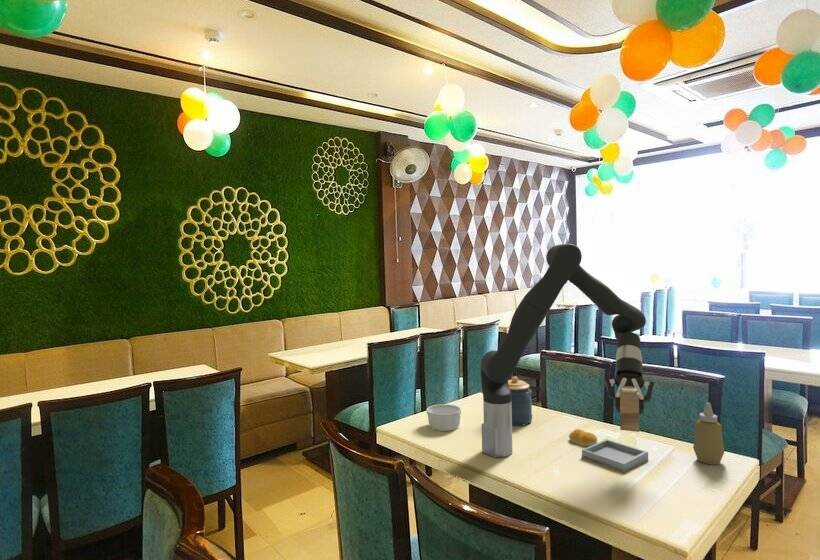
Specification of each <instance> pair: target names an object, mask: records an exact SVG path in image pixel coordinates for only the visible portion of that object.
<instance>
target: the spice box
mask: <svg viewBox="0 0 820 560" xmlns="http://www.w3.org/2000/svg"><path fill="white" fill-rule="evenodd" d="M619 413H620V414H619V421H620V423H619V425H620V426H619V429H620V431H629V432H638V433H640V414H639V391H637V387H631V386H622V390H621V389H620V412H619Z"/></svg>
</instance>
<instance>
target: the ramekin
mask: <svg viewBox="0 0 820 560" xmlns="http://www.w3.org/2000/svg"><path fill="white" fill-rule="evenodd" d="M461 414H462V408H461V407H460V406H458V405H455V404H449V403H445V404H444V403H441V404H434V405H431V406H428V407H427V408H426V415H427V419H428V425H429V427H430V428H431V429H432V430H433V429H434V430H433V431H436V430H439V431H438V432H450V431H449V430H452V431H454V430H453V429H455V430H456V428H457V429H458V427H460V424H461V423H460V422H461Z"/></svg>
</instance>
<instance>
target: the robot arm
mask: <svg viewBox="0 0 820 560" xmlns="http://www.w3.org/2000/svg"><path fill="white" fill-rule="evenodd" d="M582 258H583V257H582V251H581V249H580V247H578V246H577V245H576V244H572V243H561V244H556V245H554V246H553V245H552V247H550V248H549V249H548V250H547V252H546V256H545V259H546V262H547V265H548V268H547V269H546V272H545V273H544V275H543V276H542V277H541V278H540V280H539V281H538V282H537V283H536V284H535V285H534V286H532V287H531V288H530V290H529V291H528V292H527V293H526V294H525V295H524V297H523V298H522V299H521V300H520V303H519V304H518V305H517V307H516V309H515V311H514V313H513V315H512V317H511V321H510V324H509V327H508V330H507V333H506V336H505V339H504V340H503V342H502V343H501V345H500V346H499V347H498V349H497V350H490V351H489V350H488V351H487V352H486V353H485V354H484V355H483V356H482V358H481V361H480V383H481V385H480V386H481V392H482V397H483V398H482V400H483V401H482V403H483V405H482V406H483V423H481V453H482V454H483V453H484V454H486V455H488V456H489V457H490V456H491V457H493V458H495V459H497V458H502V457H503V458H505V457H508V456H511V455H512V454H513V425H512V397H511V391H510V388H509V384H508V380H510V378H512V377H513V376H512V375H513V374H514V372H515V370H516V368H517V366H518V364H519V362H520V360H521V357H522V356H523V354H524V352H525V350H526V348H527V346H528V345H529V344H530V342H531V341H532V339H533V337H534V336H535V334H536V332H537V331H538V329H539V328H540V326H541V325H542V323H543V322H544V320H545V318H546V317H547V315H548V314H549V311H550V309H551V308H552V306H553V305H554V303H555V301H556V300H557V298H558V296H559V294H560V293H561V291H562V290H563V288H564V286H565V285H566V283H568V281H569V282H570V283H572V284H573V285H574V286H575V287H576V288H577V289H578V290H579V291H580V292H582V294H584V295H585V296H586V297H587V298H588V299H589V300H590V301H591V302H592V303H593V304H594V305H595V306H596V307H597V308H598V309H599V310H600V311H601V312H602V313H603V314H605V315H606V316H614V315H615V316H614V317H613V319H612V321H611V327H612V330H613V333H614V337H615V339H616V355H615V376H614V378H609V377H606V378H605V379H604V382H605V383H604V384H605V387H606V391H607V395H608V398H609V400H614V401H615V402H614V404H615V405H614V409H615V411H617V413H620V389H621V390H622V386H631V387H637V391H639V416H640V415H642V414H644V411H645V403H651V400H652V396H653V393H654V392H653V391H654V389H655V382H654V381H652V380H651V381H647V380H646V381H645V379H644V377H643V375H644V374H643V356H642V345H641V343H642V342H641V341H642V340H641V337H640V335H639V334H637V333H636V332H635V331H638V330H641V329H643V328H644V327H645V326H646V324H647V320H646V316H645V314H644V313H643V312H642V311H641V310H640V309H639V308H637V307H636V306H635V305H632V304H630V303H628V302H627V301H625V300H623V299H622V298H620V297H619V296H618V295H617V294H616V293H615V292H614V291H613V290H612V289H611V288H610V287H608V286H607V284H605V283H604V282H602V280H599V279H598V278H597V277H594V276H593V275H592V274H590V273H589V272H588V271H586V269H584V268H583V267H582V266H581V262H582ZM614 384H615V385H616V386H617V389H616V390H617V391H616V393H614V392H613V389H612V387H614ZM644 386H645V389H646V390H647V391H646V394H645V395H643V393H642V390H641V389H642V388H643V387H644Z"/></svg>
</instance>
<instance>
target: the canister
mask: <svg viewBox="0 0 820 560" xmlns="http://www.w3.org/2000/svg"><path fill="white" fill-rule="evenodd" d="M508 384H509V388H510V391H511V397H512V426H524V425H523V424H527V425H529V424H531V423H532V422H531V421H533V412H532V405H533V404H532V402H533V399H532V396H531V395H532V394H533V393H532V392H533V391H532V390H531V389H530V384H529V383H527V381H524V380H520V379H519V378H518V376H511V379H508ZM530 422H531V423H530ZM528 423H529V424H528Z"/></svg>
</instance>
